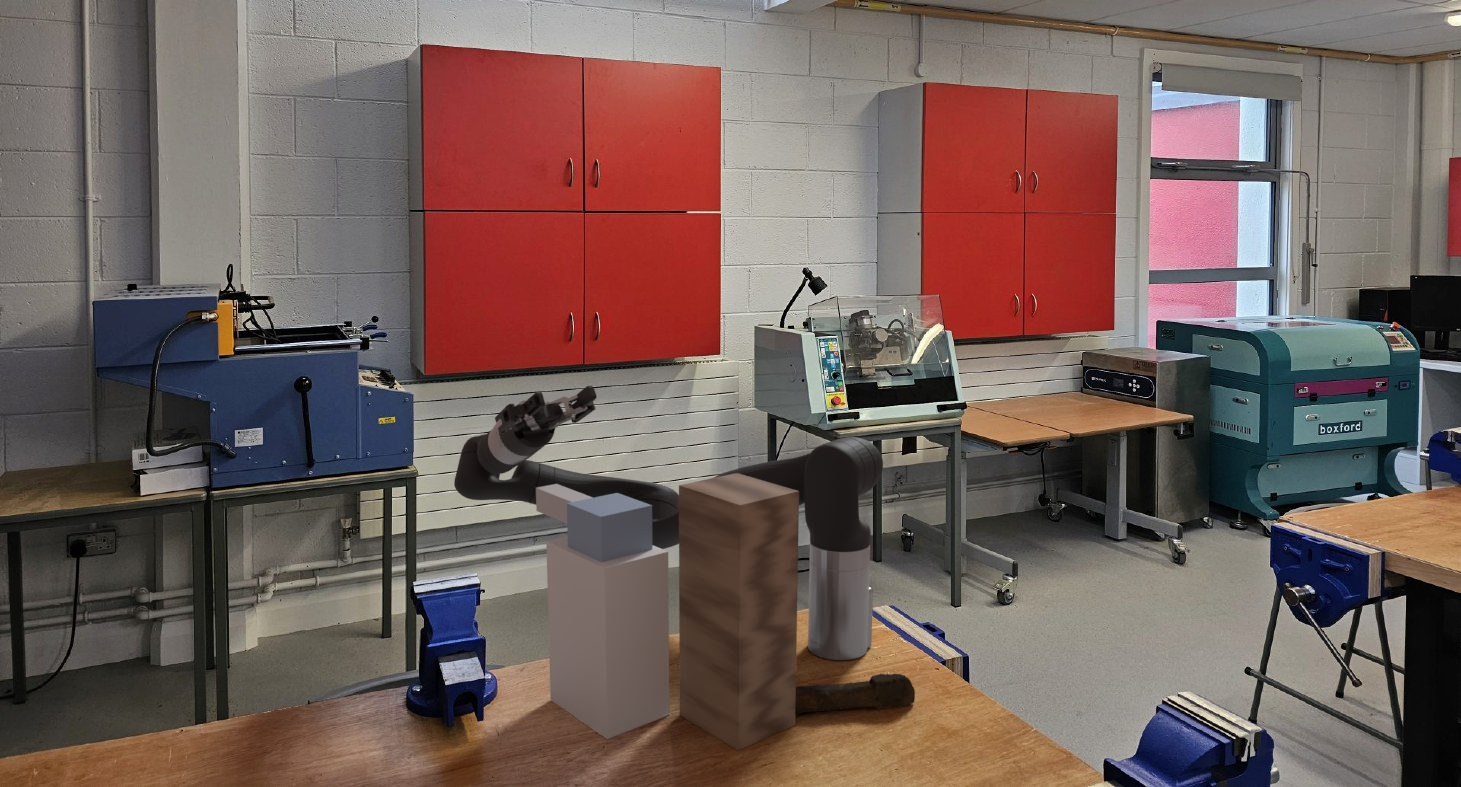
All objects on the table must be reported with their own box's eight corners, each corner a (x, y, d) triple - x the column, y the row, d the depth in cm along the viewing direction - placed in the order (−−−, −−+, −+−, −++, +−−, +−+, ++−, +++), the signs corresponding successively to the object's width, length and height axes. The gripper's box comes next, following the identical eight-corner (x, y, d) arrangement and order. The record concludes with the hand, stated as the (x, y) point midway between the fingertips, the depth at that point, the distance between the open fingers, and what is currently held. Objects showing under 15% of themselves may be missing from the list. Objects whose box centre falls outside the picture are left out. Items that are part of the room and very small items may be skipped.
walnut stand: (735, 693, 143) (736, 473, 138) (795, 725, 134) (799, 491, 129) (679, 715, 137) (678, 485, 131) (738, 750, 128) (740, 505, 122)
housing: (571, 515, 149) (570, 475, 148) (652, 549, 134) (652, 505, 133) (522, 526, 143) (521, 485, 142) (601, 562, 128) (600, 516, 127)
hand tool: (781, 722, 135) (782, 689, 135) (777, 707, 139) (777, 676, 139) (919, 715, 138) (921, 683, 137) (911, 701, 142) (912, 670, 141)
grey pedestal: (610, 679, 147) (608, 526, 143) (669, 714, 137) (668, 551, 133) (550, 700, 141) (546, 541, 137) (607, 739, 130) (604, 568, 126)
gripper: (472, 417, 154) (516, 375, 142) (553, 406, 163) (601, 366, 151) (485, 463, 152) (531, 425, 140) (566, 449, 161) (616, 412, 149)
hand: (567, 394), depth 146 cm, fingers open, 8 cm apart
